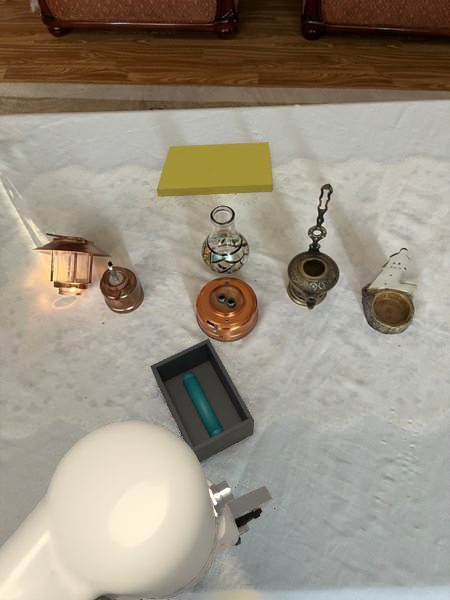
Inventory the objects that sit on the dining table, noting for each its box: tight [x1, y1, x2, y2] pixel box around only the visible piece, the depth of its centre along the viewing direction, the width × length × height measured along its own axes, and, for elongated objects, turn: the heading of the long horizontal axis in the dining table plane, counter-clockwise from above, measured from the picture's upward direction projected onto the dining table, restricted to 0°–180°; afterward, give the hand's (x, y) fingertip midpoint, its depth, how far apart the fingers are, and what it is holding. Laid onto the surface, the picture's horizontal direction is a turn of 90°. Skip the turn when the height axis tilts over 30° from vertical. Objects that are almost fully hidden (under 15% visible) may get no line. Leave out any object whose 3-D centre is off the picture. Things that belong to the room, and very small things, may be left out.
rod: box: [182, 373, 224, 438], centre depth 86 cm, size 12×2×2 cm, turn 27°
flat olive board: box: [156, 141, 274, 197], centre depth 112 cm, size 12×2×24 cm
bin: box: [149, 337, 255, 463], centre depth 84 cm, size 15×10×8 cm
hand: (183, 555), depth 48 cm, fingers open, 9 cm apart
